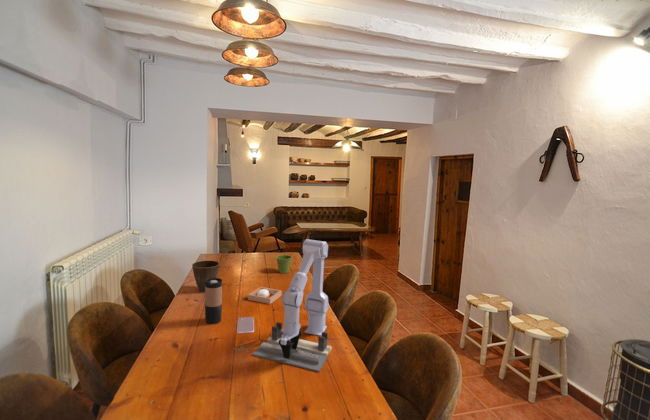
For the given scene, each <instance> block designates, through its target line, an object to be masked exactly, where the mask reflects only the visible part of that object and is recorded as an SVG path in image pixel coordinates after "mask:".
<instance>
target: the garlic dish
mask: <svg viewBox="0 0 650 420" xmlns="http://www.w3.org/2000/svg"><path fill="white" fill-rule="evenodd" d="M261 289H267V290H268V291H269V294H270V295H272V296H270V297H268V296H267V297H262V296H257V293H258V291H259V290H261ZM282 293H283V292H282V290H280V289H275V288H269V287H264V286H260V287H258V288H256V289H254V290H253V291H252V292H250V293H248V294H247V301H251V302H258V303H261V304H262V303H263V304H268V305H271V304H273V302H275V301H276V300H277V299H279V298H280V297H282V295H283V294H282Z"/></svg>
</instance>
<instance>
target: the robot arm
mask: <svg viewBox="0 0 650 420" xmlns="http://www.w3.org/2000/svg"><path fill="white" fill-rule="evenodd" d="M302 254H303V255H302V259H301V262H300V266H299V268H298V271H297V272H295V273H294V274H293V276H292V279H291V282H290V283H289V286H288V289H287V290H284V292H283V294H282V298H281V301H282V302H281V303H282V305H283V309H284V314H283V315H284V316H283V317H284V319H283V327H282V330H281V332H282V339H280V340H279V345H280V346H281V348H282V352H283V356H284V358H287V359H289V357H290V353H291V349H295V350H296V349H297V345H298V341H299V339H301V337H302V334H303V331H302V330H300V329H301V323H299V322H300V307H301V305H302V303H303V301H304V300H303V299H304V298H303V297H304V290H305V287H306V285H307V282H308V276H307V274H308V273H309V271H310V268H311V266H312V276H311V277H312V279H311V280H312V281H311V291H310V292H308V293H307V294H306V298H305V302H304V308H305V310H306V313H308V315H307V316H308V317H307V318H308V320H307V328H306V329H305V330H304V333H305V334H311V335H315V336H318V337H319V336H321V337H322V332H325V331H326V329H327V328H328V326H327V325H326V317H327V316H326V315H327V312H328V310H329V307H330V304H329V296H328V295H327V294H326V293H325V292H324V291H323V288H324V287H323V286H324V271H325V270H324V268H325V259H326V258H328V254H329V244H328V243H327V241H325V240H324V241H322V240H315V239H310V238H306V239H305V240H304V241H303V242H302ZM289 339H290V341H289Z"/></svg>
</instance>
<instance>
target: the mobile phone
mask: <svg viewBox="0 0 650 420" xmlns="http://www.w3.org/2000/svg"><path fill="white" fill-rule="evenodd" d="M254 319H255V318H254V317H253V316H246V317H245V316H243V317H238V318H237V327H236V334H248V333H249V334H250V333H254V332H255V320H254Z"/></svg>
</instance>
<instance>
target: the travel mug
mask: <svg viewBox="0 0 650 420" xmlns="http://www.w3.org/2000/svg"><path fill="white" fill-rule="evenodd" d="M222 307H223V279H222V278H219V277H217V278H210V279H207V280H206V281H205V292H204V320H205V321H204V323H206V324H207V325H217V324H219V323H220V322H221V321H222V310H223V309H222Z"/></svg>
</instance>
